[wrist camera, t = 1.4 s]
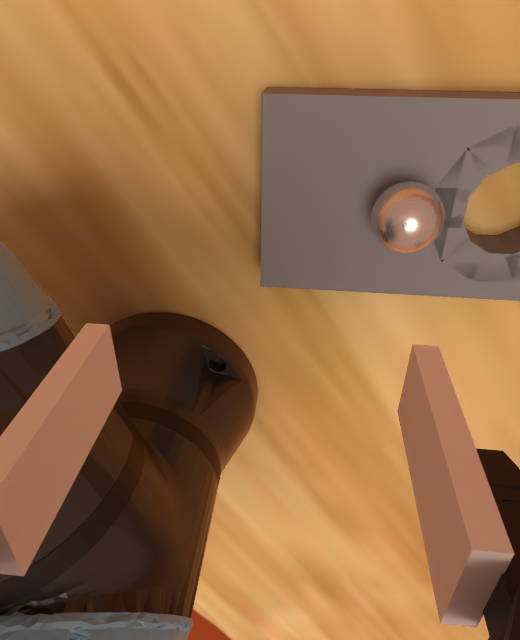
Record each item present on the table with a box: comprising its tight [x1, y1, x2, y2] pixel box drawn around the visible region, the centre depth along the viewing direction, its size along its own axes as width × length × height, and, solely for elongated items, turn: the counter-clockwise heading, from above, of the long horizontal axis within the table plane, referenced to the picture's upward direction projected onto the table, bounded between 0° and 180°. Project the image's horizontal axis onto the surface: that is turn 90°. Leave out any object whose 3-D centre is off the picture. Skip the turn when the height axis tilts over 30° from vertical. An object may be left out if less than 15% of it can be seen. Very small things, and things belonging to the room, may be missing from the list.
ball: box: [371, 181, 445, 254], centre depth 27 cm, size 4×4×4 cm
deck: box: [261, 87, 520, 301], centre depth 30 cm, size 20×12×3 cm, turn 90°
